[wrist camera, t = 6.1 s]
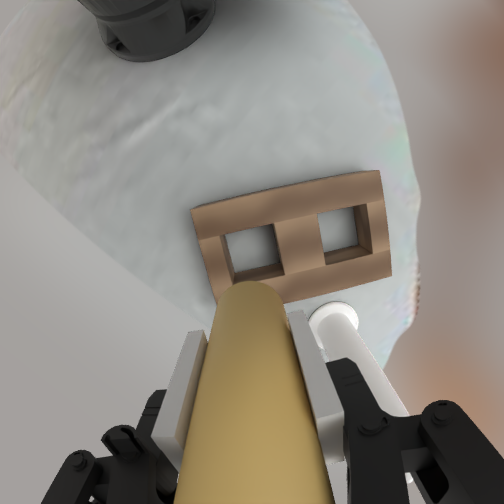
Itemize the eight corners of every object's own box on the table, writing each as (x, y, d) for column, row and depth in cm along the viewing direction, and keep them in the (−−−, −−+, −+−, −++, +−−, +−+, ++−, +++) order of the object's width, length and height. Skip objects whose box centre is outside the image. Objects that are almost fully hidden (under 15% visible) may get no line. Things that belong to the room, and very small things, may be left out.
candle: (326, 355, 37) (385, 508, 13) (296, 325, 36) (346, 499, 12) (365, 323, 36) (459, 462, 12) (338, 290, 35) (443, 441, 11)
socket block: (198, 205, 32) (190, 209, 28) (363, 170, 31) (379, 170, 27) (223, 300, 35) (220, 317, 31) (376, 264, 34) (391, 275, 30)
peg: (209, 288, 16) (120, 574, 2) (277, 274, 16) (361, 576, 1) (225, 346, 17) (199, 596, 3) (289, 334, 17) (348, 586, 2)
